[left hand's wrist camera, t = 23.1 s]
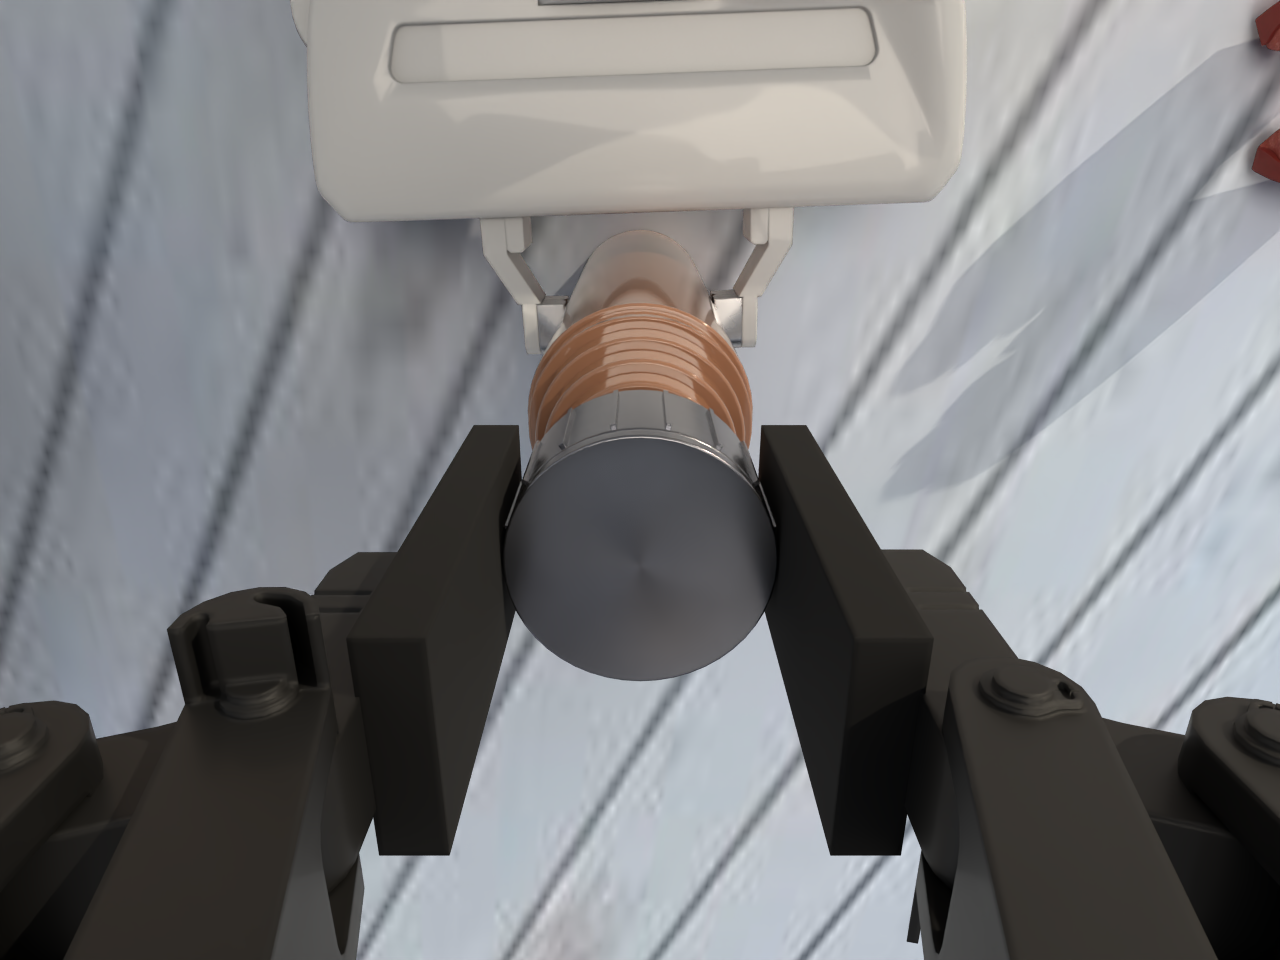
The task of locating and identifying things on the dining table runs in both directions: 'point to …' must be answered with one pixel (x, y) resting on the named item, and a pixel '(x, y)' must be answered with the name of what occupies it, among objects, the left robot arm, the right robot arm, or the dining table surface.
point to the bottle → (640, 337)
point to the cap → (640, 538)
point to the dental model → (1276, 153)
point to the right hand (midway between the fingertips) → (642, 347)
